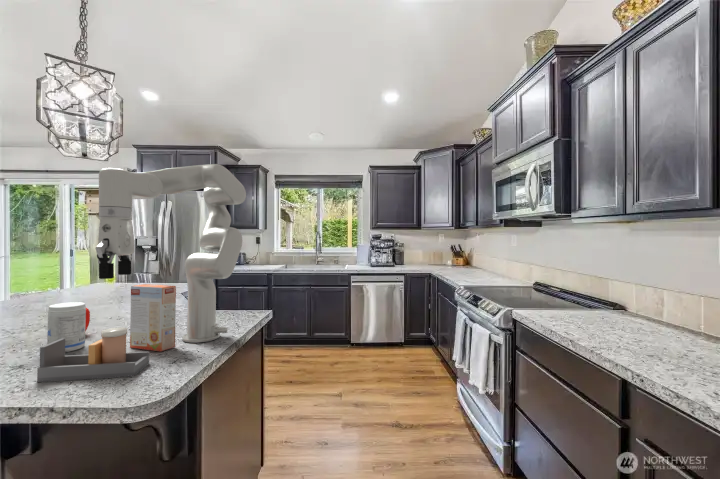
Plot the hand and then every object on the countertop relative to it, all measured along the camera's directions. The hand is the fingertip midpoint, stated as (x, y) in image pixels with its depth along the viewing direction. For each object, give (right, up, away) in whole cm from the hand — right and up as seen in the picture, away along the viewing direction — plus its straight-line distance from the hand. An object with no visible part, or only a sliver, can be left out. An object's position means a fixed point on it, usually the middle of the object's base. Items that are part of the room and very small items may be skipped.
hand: (116, 276), depth 94 cm
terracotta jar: (0, -25, 0) cm, 25 cm away
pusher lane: (-4, -26, -1) cm, 26 cm away
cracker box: (-2, -26, +20) cm, 33 cm away
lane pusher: (-4, -25, -1) cm, 25 cm away
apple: (-39, -26, +34) cm, 58 cm away
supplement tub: (-29, -26, +18) cm, 43 cm away
